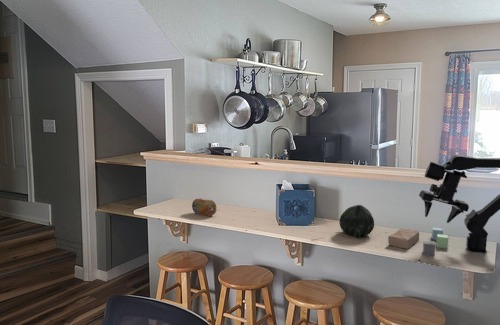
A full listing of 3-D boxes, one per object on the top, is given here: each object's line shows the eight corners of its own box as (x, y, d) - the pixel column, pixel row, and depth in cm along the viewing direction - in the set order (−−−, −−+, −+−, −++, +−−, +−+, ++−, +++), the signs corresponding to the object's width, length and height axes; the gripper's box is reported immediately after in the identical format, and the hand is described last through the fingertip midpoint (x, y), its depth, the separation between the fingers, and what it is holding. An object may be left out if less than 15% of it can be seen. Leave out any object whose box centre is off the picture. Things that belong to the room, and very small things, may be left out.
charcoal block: (433, 252, 175) (434, 241, 174) (434, 255, 171) (435, 244, 170) (422, 251, 176) (423, 240, 175) (423, 254, 172) (424, 243, 172)
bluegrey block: (441, 237, 193) (442, 228, 192) (442, 240, 189) (443, 230, 189) (431, 237, 194) (432, 227, 194) (432, 239, 190) (433, 229, 190)
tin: (191, 213, 233) (191, 197, 231) (195, 212, 235) (195, 196, 234) (213, 217, 224) (213, 201, 223) (217, 216, 227) (217, 200, 225)
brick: (400, 236, 196) (401, 226, 195) (419, 240, 191) (420, 229, 190) (387, 246, 183) (387, 235, 182) (407, 250, 178) (408, 239, 177)
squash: (348, 215, 209) (342, 196, 198) (379, 221, 201) (375, 202, 191) (339, 240, 201) (332, 222, 191) (371, 247, 194) (366, 228, 183)
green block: (446, 245, 183) (447, 235, 183) (447, 248, 180) (448, 237, 179) (436, 244, 185) (436, 234, 184) (437, 247, 181) (437, 236, 180)
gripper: (464, 185, 185) (451, 219, 189) (421, 174, 186) (409, 207, 189) (475, 193, 174) (461, 228, 178) (429, 180, 175) (416, 216, 179)
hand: (436, 219), depth 181 cm, fingers open, 9 cm apart
